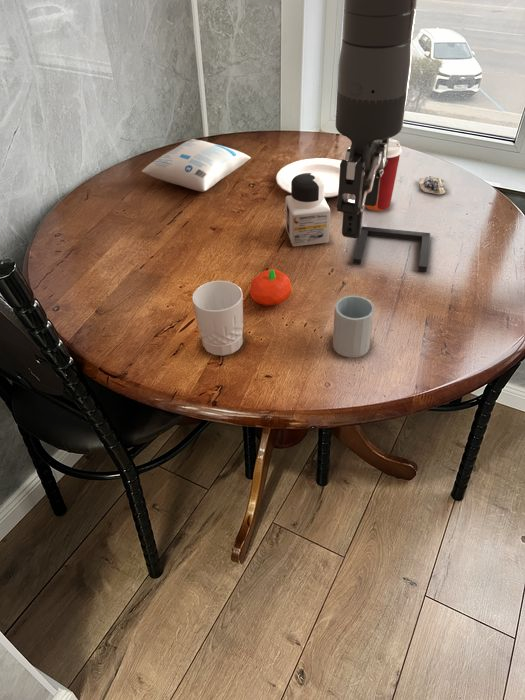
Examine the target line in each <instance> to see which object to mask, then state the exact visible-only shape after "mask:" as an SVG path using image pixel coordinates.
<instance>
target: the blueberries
mask: <svg viewBox="0 0 525 700" xmlns="http://www.w3.org/2000/svg"><path fill="white" fill-rule="evenodd" d="M418 184H419V188H420V189H421V191H422V192H424V193H430V194H433V195H438V196H441V195H444V194H445V193H446V190H445V188H444V187H445V182H444V179H442V178H438V177H433V176H430V175H429V176H426V177H424V178H423V177H422V178H421V177H420V178H418Z"/></svg>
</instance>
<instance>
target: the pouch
mask: <svg viewBox="0 0 525 700" xmlns="http://www.w3.org/2000/svg"><path fill="white" fill-rule="evenodd" d="M251 158H252V157H251V156H249V155H248V154H246V153H244V152H242V151H239V150H236V149H234V148H230V147H228V146H224V145H220V144H216V143H212V142H210V141H209V142H208V141H205V140H200V139H194V138H192V139H188V140H186V141H185V142H182V143H180V144H179V145H178V146H176V147H175V148H173V149H171V150H170V151H168V152H165V153H164V154H162V155H161V156H159V157H157V158H156V159H154V160H153V161H152V162H150V163H149V164H148V165H146V166H145V167H144V168H143V169H142V170H141V173H144V174H146V175H148V176H150V177H151V178H154V179H158V180H161V181H164V182H167V183H170V184H172V185H177V186H181V187H184V188H186V189H190V190H192V191H197V192H200V193H204V192H207V191H208V190H209V189H211V188H212V187H214V186H215V185H216V184H217V183H219V182H220V181H221V180H223V179H224V178H225V177H227V176H229V175H231V174H232V173H233V172H234V171H236V170H238V169H239V168H240V167H241V166H243V165H244V164H246V163H247V162H248V161H250V159H251Z"/></svg>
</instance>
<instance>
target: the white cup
mask: <svg viewBox="0 0 525 700" xmlns="http://www.w3.org/2000/svg"><path fill="white" fill-rule="evenodd" d="M243 296H244V295H243V290H242V288H241V287H240V286H239V285H238V284H236V283H234V282H232V281H229V280H212V281H208V282H205V283H203V284H200V286H198V287H197V288H196V289H195V290H194V291H193V293H192V295H191V298H192V299H191V300H192V305H193V309H194V314H195V318H196V323H197V327H198V332H199V334H200V336H201V342H202V346H203V348H204V350H205V351H206V352H208V353H209V354H212V355H213V356H222V357H223V356H229V355H233V354H234V353H236V352H237V351H239V350H240V349H241V347H242V345H243V343H244V340H243V332H244V306H243V305H244V297H243Z"/></svg>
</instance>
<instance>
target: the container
mask: <svg viewBox="0 0 525 700" xmlns="http://www.w3.org/2000/svg"><path fill="white" fill-rule="evenodd" d="M324 184H325V181H324V179H323V178H322V177H321V176H320V175H317V174H313V173H303V174H299V175H297V176H295V177H294V178H293V179H292V181H291V194H290V195H287V196H285V230H286V232H287V234H288V235H287V236H288V238H289V240H290V243H291V245H292V247H294V248H295V247H303V246H309V245H310V246H311V245H319V244H327V243H329V242H330V223H331V208H330V206H329V204H328V203H327V201H326V198H324Z"/></svg>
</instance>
